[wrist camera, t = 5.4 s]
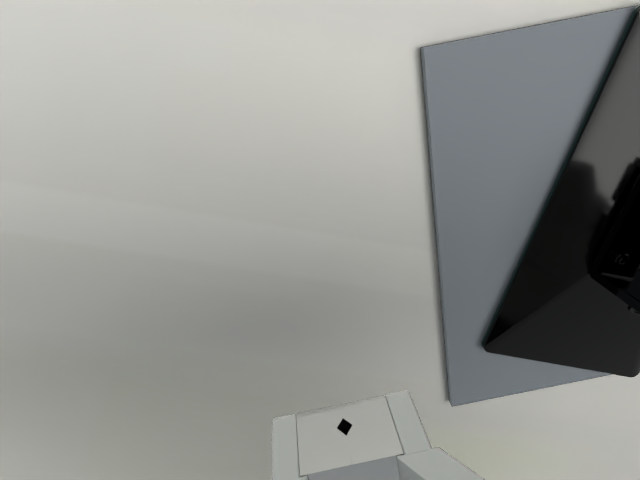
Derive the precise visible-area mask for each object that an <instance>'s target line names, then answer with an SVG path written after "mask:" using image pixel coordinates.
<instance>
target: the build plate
mask: <svg viewBox="0 0 640 480" xmlns="http://www.w3.org/2000/svg"><path fill="white" fill-rule="evenodd" d="M481 345H482V347H483V348H484V350H485V351H486V352H488V353H494V354H499V355H505V356H511V357H517V358H522V359H528V360H534V361H540V362H546V363H551V364H557V365H563V366H569V367H575V368H580V369H586V370H592V371H598V372H603V373H609V374H615V375H621V376H627V377H635V376H636V375H638V374H639V372H640V5H639V6H637V7H636V8H635V9H634V10H633V11H632V13H631V16H630V18H629V20H628V22H627V24H626V26H625V29H624V31H623V33H622V35H621V37H620V40H619V42H618V44H617V46H616V48H615V50H614V53H613V55H612V57H611V59H610V61H609V64H608V66H607V68H606V70H605V72H604V75H603V77H602V79H601V81H600V83H599V85H598V88H597V90H596V92H595V94H594V96H593V99H592V101H591V103H590V105H589V107H588V109H587V112H586V114H585V116H584V118H583V120H582V123H581V125H580V127H579V129H578V131H577V134H576V136H575V138H574V140H573V142H572V144H571V147H570V149H569V151H568V153H567V155H566V158H565V160H564V162H563V164H562V166H561V169H560V171H559V173H558V175H557V177H556V179H555V182H554V184H553V186H552V188H551V190H550V193H549V195H548V197H547V199H546V201H545V203H544V206H543V208H542V210H541V212H540V214H539V217H538V219H537V221H536V223H535V225H534V228H533V230H532V232H531V234H530V236H529V238H528V241H527V243H526V245H525V247H524V249H523V252H522V254H521V256H520V258H519V260H518V263H517V265H516V267H515V269H514V271H513V273H512V276H511V278H510V280H509V282H508V284H507V287H506V289H505V291H504V293H503V295H502V297H501V300H500V302H499V304H498V306H497V308H496V311H495V313H494V315H493V317H492V319H491V322H490V324H489V326H488V328H487V330H486V332H485V335H484V337H483V339H482V341H481Z"/></svg>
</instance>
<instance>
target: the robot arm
mask: <svg viewBox="0 0 640 480" xmlns="http://www.w3.org/2000/svg"><path fill="white" fill-rule="evenodd" d="M272 480H485V479H483V478H482V477H480V476H479V475H478V474H476V473H475V472H473V471H472V470H471V469H469V468H468V467H466V466H465V465H463V464H462V463H461V462H459V461H458V460H456V459H455V458H453V457H452V456H451V455H449V454H448V453H446V452H445V451H443V450H442V449H441V448H434V449H432V447H431V445H430V442H429V440H428V437H427V435H426V432H425V430H424V428H423V425H422V423H421V420H420V418H419V415H418V413H417V410H416V408H415V405H414V403H413V400H412V398H411V395H410V393H409V392H408V391H407V390H402V391H398V392H393V393H389V394H385V396H384V395H381V396H376V397H372V398H367V399H363V400H358V401H354V402H349V403H345V404H340V405H336V406H331V407H326V408H320V409H315V410H310V411H304V412H299V413H297V414H291V415H286V416H280V417H274V418H273V422H272Z"/></svg>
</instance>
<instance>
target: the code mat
mask: <svg viewBox="0 0 640 480" xmlns="http://www.w3.org/2000/svg"><path fill="white" fill-rule="evenodd" d="M637 6H639V5H637ZM637 6H632V7H627V8H622V9H617V10H612V11H606V12H601V13H596V14H591V15H586V16H581V17H576V18H570V19H565V20H560V21H555V22H550V23H545V24H540V25H534V26H529V27H524V28H519V29H514V30H509V31H504V32H498V33H493V34H488V35H483V36H478V37H473V38H468V39H462V40H457V41H452V42H447V43H442V44H437V45H432V46H426V47H421V58H422V70H423V82H424V94H425V107H426V119H427V131H428V143H429V156H430V168H431V180H432V192H433V205H434V217H435V229H436V242H437V254H438V266H439V278H440V291H441V303H442V315H443V327H444V340H445V352H446V364H447V377H448V389H449V401H450V403H451V406H452V407H453V406H458V405H463V404H468V403H473V402H478V401H483V400H487V399H492V398H497V397H502V396H507V395H512V394H517V393H522V392H527V391H532V390H537V389H542V388H547V387H552V386H557V385H562V384H567V383H572V382H577V381H582V380H587V379H592V378H597V377H602V376H606V375H611V374H609V373H603V372H598V371H592V370H586V369H580V368H575V367H569V366H563V365H557V364H551V363H546V362H540V361H534V360H528V359H522V358H517V357H511V356H505V355H499V354H494V353H488V352H486V351H485V350H484V348H483V347H482V345H481V341H482V339H483V337H484V335H485V332H486V330H487V328H488V326H489V324H490V322H491V319H492V317H493V315H494V313H495V311H496V308H497V306H498V304H499V302H500V300H501V297H502V295H503V293H504V291H505V289H506V287H507V284H508V282H509V280H510V278H511V276H512V273H513V271H514V269H515V267H516V265H517V263H518V260H519V258H520V256H521V254H522V252H523V249H524V247H525V245H526V243H527V241H528V238H529V236H530V234H531V232H532V230H533V228H534V225H535V223H536V221H537V219H538V217H539V214H540V212H541V210H542V208H543V206H544V203H545V201H546V199H547V197H548V195H549V193H550V190H551V188H552V186H553V184H554V182H555V179H556V177H557V175H558V173H559V171H560V169H561V166H562V164H563V162H564V160H565V158H566V155H567V153H568V151H569V149H570V147H571V144H572V142H573V140H574V138H575V136H576V134H577V131H578V129H579V127H580V125H581V123H582V120H583V118H584V116H585V114H586V112H587V109H588V107H589V105H590V103H591V101H592V99H593V96H594V94H595V92H596V90H597V88H598V85H599V83H600V81H601V79H602V77H603V75H604V72H605V70H606V68H607V66H608V64H609V61H610V59H611V57H612V55H613V53H614V50H615V48H616V46H617V44H618V42H619V40H620V37H621V35H622V33H623V31H624V29H625V26H626V24H627V22H628V20H629V18H630V16H631V13H632V11H633V10H634V9H635V8H636V7H637Z"/></svg>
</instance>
